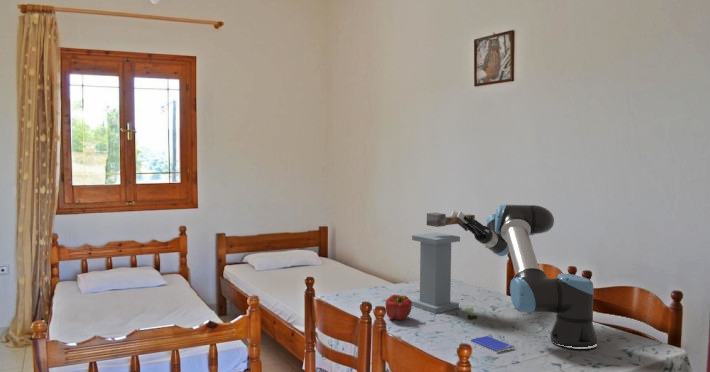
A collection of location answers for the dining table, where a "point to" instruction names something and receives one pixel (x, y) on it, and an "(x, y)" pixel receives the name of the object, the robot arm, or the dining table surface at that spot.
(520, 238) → the robot arm
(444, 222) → the mallet
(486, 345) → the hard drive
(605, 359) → the dining table surface
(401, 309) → the vegetable
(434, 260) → the stand
